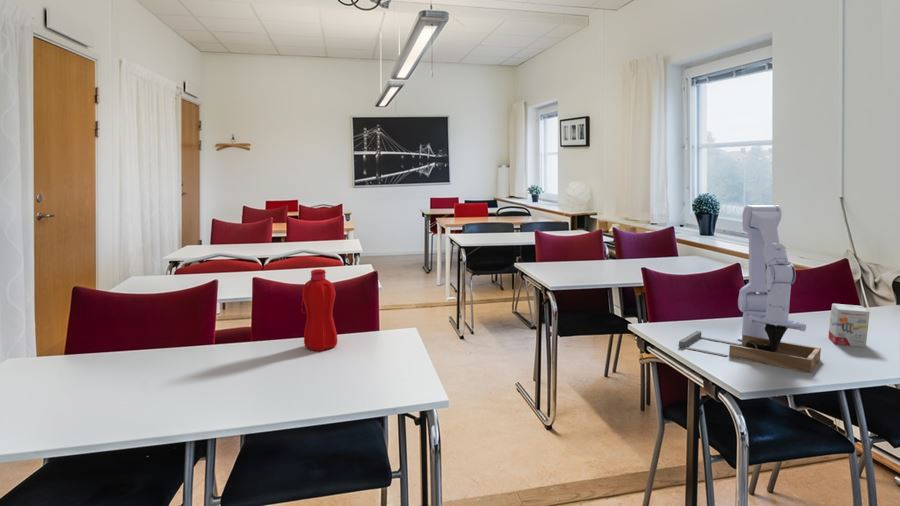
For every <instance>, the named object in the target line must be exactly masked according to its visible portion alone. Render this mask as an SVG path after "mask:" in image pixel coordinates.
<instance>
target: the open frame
mask: <svg viewBox="0 0 900 506" xmlns="http://www.w3.org/2000/svg"><path fill="white" fill-rule="evenodd" d="M741 336H742V335H741ZM749 340H759V341H763V342H766V343H769V344H770V341H769V339H764V338H758V337H753V336H747V335H743V336H742V341H741V344H742V345H741V346H739V345H733V344H729V350H728V351H729V352H728V354H729V355H728V357H730V358H735V359H740V360H743V361H748V362H755V363H758V364H759V363H760V364H764V365H768V366H769V365H770V366H775V367H781V368H785V369H790V370H795V371H800V372H806V373H809V374H810V373H811V372H812V371H813V370H814V368H815V367H816V366H817V364H818V363H819V361H820V360H821V352H822V351H821V350H822V349H821V347H817V346H811V345H805V344H804V345H803V344H799V343H792V342H786V341H780V343H779V346H778V350H777V351H775V352H770V351H764V350H759V349H753V348H748V347H746V346H745V345H746V342H747V341H749Z"/></svg>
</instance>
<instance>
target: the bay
mask: <svg viewBox="0 0 900 506" xmlns="http://www.w3.org/2000/svg"><path fill="white" fill-rule="evenodd" d="M699 339H701V340H708V341H712V342H717V343H723V344H728V345H731V344H732V345H737V346H742V343H737V342H731V341H726V340H720V339H715V338H711V337H705V336H702V331H699V330H696V331H694V332H692V333H690V334H689V335H687V336H686V337H684V338H682V339H681V340H679V341H678V348H679V347H680V349H684V348H685V349H684V350H689V351H693V352H699V353H705V354H709V355H715V356H720V357H725V358H727V357H729V355H728V354H724V353H719V352H714V351H710V350H702V349H699V348H693V347H688V346H690V345H691V344H693V343H694V342H696V341H698V340H699Z"/></svg>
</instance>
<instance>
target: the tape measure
mask: <svg viewBox="0 0 900 506" xmlns="http://www.w3.org/2000/svg"><path fill="white" fill-rule="evenodd" d="M745 346H746V347H748V348H753V349H759V350H764V351H770V352H775V351H771V344H769V343H766V342H763V341H759V340H749V341H747V342H746V345H745Z"/></svg>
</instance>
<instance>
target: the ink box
mask: <svg viewBox="0 0 900 506" xmlns="http://www.w3.org/2000/svg"><path fill="white" fill-rule="evenodd" d="M869 320H870V311H869V310H868V309H867V308H866V307H864V306H863V305H854V304H844V303H843V304H841V303H832V304H831V311H830V318H829V327H828V339H829V340H830V341H831V342H832V343H833V344H834V345H837V346H846V345H848V346H849V347H857V346H860V347H859V348H866V347H867V339H868V331H869V322H870V321H869Z"/></svg>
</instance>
